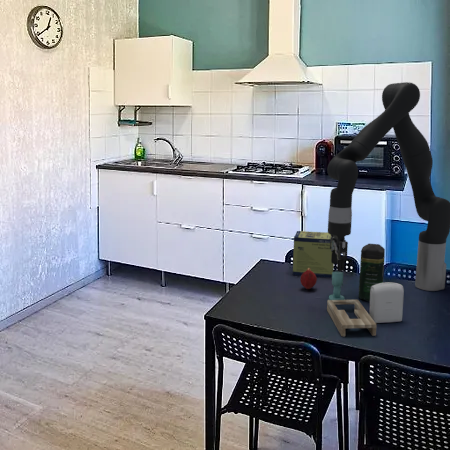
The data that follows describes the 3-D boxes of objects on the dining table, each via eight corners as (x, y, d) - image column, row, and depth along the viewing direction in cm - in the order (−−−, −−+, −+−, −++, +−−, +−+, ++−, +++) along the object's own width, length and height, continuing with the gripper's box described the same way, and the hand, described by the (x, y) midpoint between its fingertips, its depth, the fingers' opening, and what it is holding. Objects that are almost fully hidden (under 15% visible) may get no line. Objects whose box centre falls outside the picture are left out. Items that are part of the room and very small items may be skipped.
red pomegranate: (317, 292, 195) (318, 270, 194) (301, 292, 196) (301, 270, 194) (315, 286, 201) (315, 265, 199) (299, 286, 201) (299, 265, 199)
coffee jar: (381, 303, 184) (384, 250, 180) (357, 300, 187) (359, 248, 183) (383, 293, 193) (386, 242, 189) (360, 291, 196) (362, 241, 192)
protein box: (332, 278, 210) (334, 239, 207) (292, 275, 214) (293, 236, 210) (334, 270, 220) (335, 232, 217) (295, 267, 224) (296, 230, 220)
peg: (342, 298, 189) (343, 270, 187) (346, 303, 184) (347, 275, 182) (327, 298, 189) (328, 270, 187) (330, 304, 184) (331, 275, 182)
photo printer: (371, 324, 168) (373, 286, 165) (366, 318, 172) (368, 281, 169) (404, 322, 169) (406, 284, 166) (398, 317, 173) (400, 279, 170)
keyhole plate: (357, 309, 179) (357, 299, 178) (375, 335, 160) (376, 324, 159) (327, 310, 179) (327, 300, 178) (341, 336, 159) (342, 325, 159)
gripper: (356, 224, 174) (354, 273, 177) (345, 215, 187) (343, 260, 191) (333, 224, 173) (330, 273, 177) (324, 215, 187) (321, 260, 191)
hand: (337, 266), depth 184 cm, fingers open, 8 cm apart
